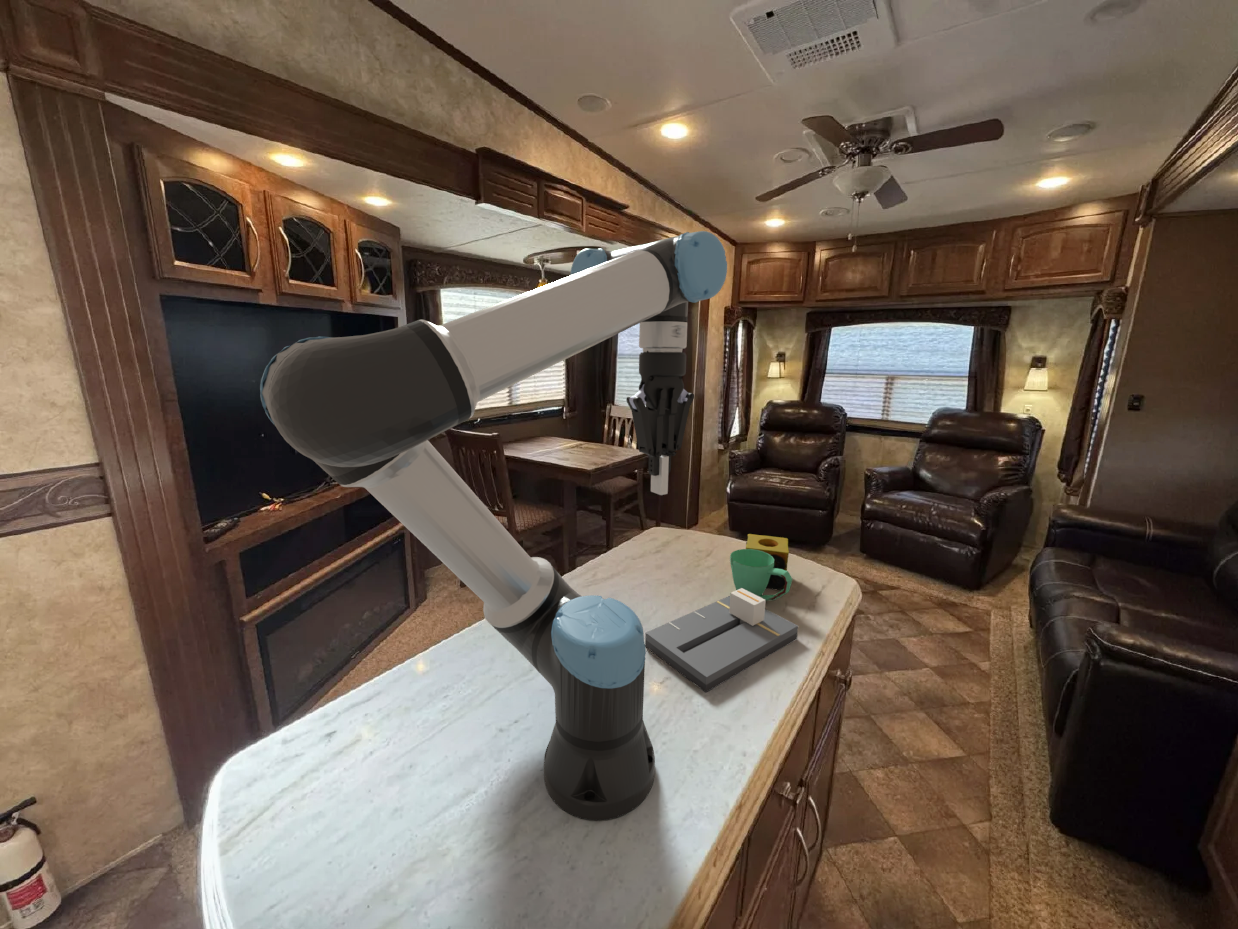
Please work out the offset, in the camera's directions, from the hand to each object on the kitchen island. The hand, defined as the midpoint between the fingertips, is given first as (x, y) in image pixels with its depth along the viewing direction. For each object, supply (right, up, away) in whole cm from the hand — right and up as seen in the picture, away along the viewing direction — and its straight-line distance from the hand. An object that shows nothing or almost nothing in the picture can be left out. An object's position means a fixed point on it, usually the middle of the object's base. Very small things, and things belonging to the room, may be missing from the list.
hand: (659, 492), depth 83 cm
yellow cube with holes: (+30, -24, +39) cm, 55 cm away
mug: (+25, -27, +28) cm, 46 cm away
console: (+13, -30, +13) cm, 36 cm away
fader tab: (+19, -28, +16) cm, 37 cm away
